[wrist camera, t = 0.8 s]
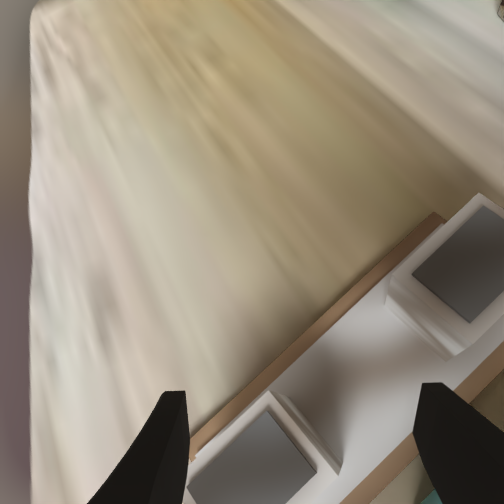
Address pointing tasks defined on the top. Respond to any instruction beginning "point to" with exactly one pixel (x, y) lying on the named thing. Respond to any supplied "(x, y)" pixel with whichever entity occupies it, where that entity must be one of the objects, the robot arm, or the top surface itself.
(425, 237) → the board
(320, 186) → the top surface
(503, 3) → the coffee box
